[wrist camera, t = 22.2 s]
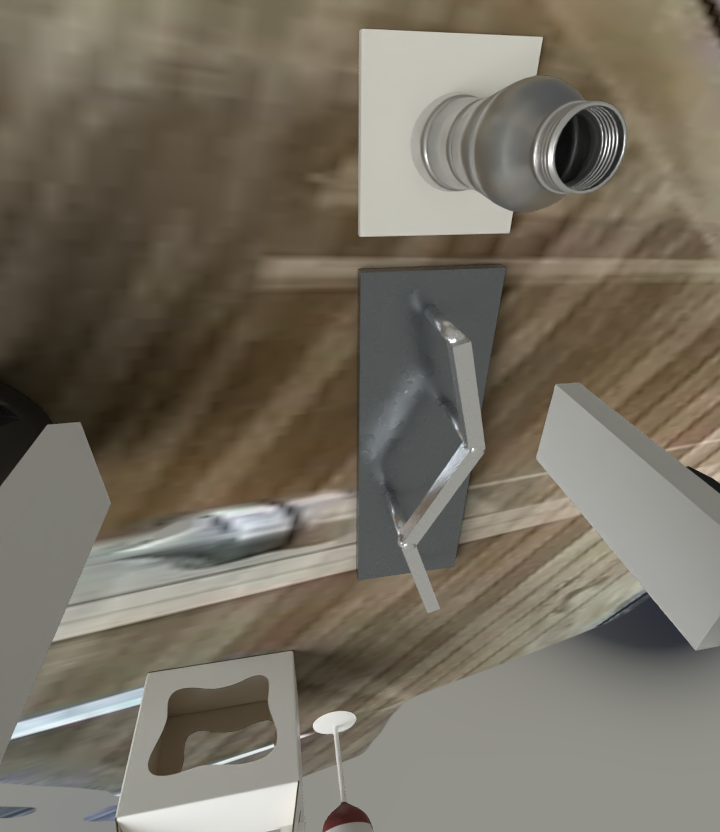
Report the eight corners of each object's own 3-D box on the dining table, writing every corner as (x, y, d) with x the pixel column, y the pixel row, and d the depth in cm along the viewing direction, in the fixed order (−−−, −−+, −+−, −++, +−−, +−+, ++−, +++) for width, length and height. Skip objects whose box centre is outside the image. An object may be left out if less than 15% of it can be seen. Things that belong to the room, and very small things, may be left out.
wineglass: (324, 707, 82) (340, 873, 64) (367, 713, 86) (395, 871, 67) (301, 732, 85) (310, 896, 67) (344, 736, 89) (364, 893, 71)
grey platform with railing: (356, 571, 64) (369, 636, 56) (357, 268, 42) (380, 302, 34) (450, 558, 66) (477, 619, 58) (499, 263, 44) (553, 293, 36)
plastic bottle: (440, 73, 34) (604, 11, 18) (497, 137, 37) (685, 136, 21) (387, 151, 36) (489, 162, 20) (445, 206, 39) (577, 256, 23)
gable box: (164, 716, 75) (117, 981, 51) (145, 672, 68) (81, 955, 44) (299, 693, 78) (312, 931, 55) (294, 649, 71) (307, 900, 48)
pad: (358, 234, 40) (360, 236, 40) (359, 31, 33) (361, 28, 32) (504, 231, 42) (509, 233, 42) (536, 39, 35) (542, 37, 34)
